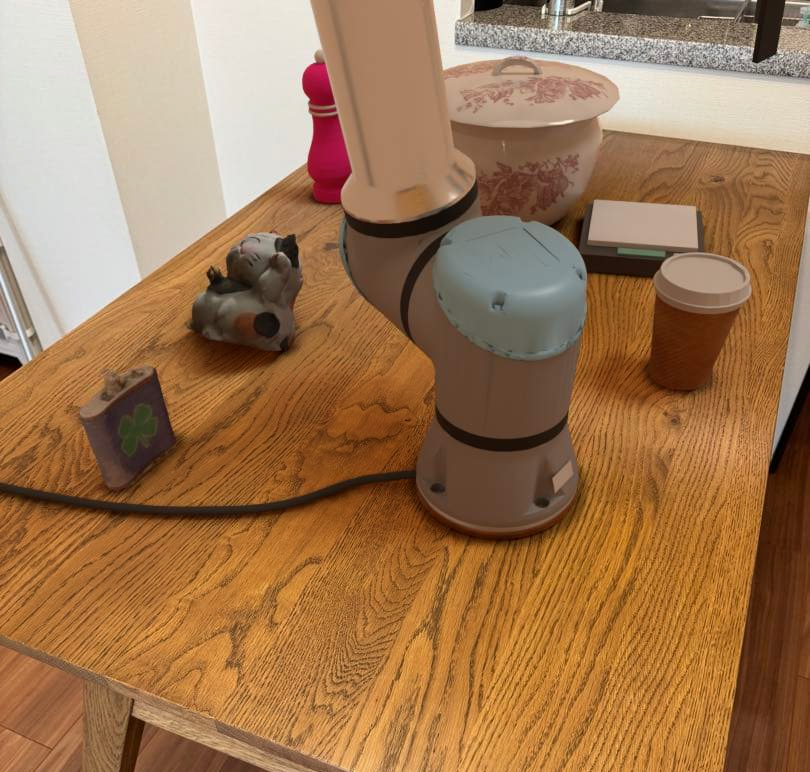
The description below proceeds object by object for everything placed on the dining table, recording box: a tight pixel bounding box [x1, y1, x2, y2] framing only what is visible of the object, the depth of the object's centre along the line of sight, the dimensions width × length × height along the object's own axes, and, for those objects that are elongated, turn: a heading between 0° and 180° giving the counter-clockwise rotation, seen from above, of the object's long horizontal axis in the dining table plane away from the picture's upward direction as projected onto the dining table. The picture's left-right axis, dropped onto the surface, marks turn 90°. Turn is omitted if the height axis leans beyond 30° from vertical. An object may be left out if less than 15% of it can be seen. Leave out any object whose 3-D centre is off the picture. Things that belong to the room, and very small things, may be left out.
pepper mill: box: [301, 48, 352, 204], centre depth 115 cm, size 7×7×20 cm
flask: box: [78, 364, 178, 493], centre depth 74 cm, size 9×3×11 cm, turn 151°
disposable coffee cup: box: [648, 252, 753, 391], centre depth 82 cm, size 10×10×12 cm
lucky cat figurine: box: [186, 229, 305, 352], centre depth 90 cm, size 15×12×14 cm
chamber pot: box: [443, 55, 621, 227], centre depth 109 cm, size 28×28×21 cm
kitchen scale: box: [577, 199, 705, 278], centre depth 106 cm, size 16×16×3 cm
